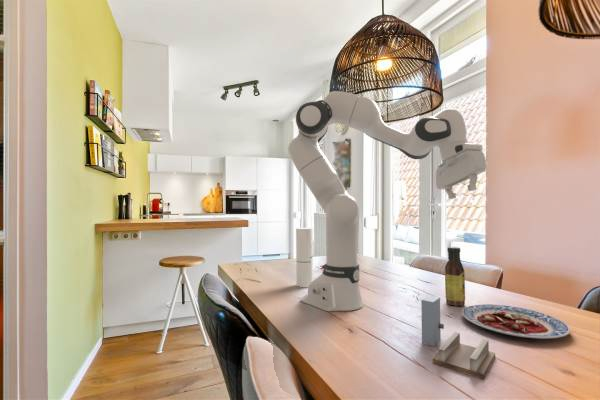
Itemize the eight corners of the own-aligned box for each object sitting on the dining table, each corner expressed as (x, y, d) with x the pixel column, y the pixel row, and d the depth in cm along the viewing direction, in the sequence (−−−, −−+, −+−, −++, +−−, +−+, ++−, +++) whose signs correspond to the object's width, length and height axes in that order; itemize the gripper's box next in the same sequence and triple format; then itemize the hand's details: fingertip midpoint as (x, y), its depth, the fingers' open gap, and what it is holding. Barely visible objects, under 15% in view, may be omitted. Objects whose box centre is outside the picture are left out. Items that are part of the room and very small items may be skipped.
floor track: (432, 362, 70) (432, 347, 70) (449, 344, 79) (448, 330, 79) (483, 379, 63) (483, 361, 63) (495, 357, 72) (494, 341, 72)
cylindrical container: (315, 284, 138) (315, 228, 138) (307, 288, 132) (307, 229, 132) (302, 282, 142) (301, 227, 142) (293, 286, 136) (292, 228, 136)
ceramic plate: (532, 354, 74) (532, 341, 74) (443, 318, 98) (443, 308, 98) (591, 335, 84) (591, 324, 84) (498, 306, 108) (497, 298, 108)
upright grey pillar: (421, 343, 80) (421, 299, 80) (428, 336, 84) (428, 295, 84) (438, 347, 77) (437, 302, 77) (444, 340, 81) (444, 298, 81)
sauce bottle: (467, 307, 107) (467, 249, 107) (448, 306, 108) (447, 248, 108) (462, 301, 113) (461, 246, 113) (443, 300, 114) (442, 246, 115)
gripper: (428, 166, 115) (434, 202, 111) (468, 141, 95) (475, 184, 92) (444, 166, 116) (449, 203, 112) (486, 142, 96) (494, 185, 93)
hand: (462, 194), depth 102 cm, fingers open, 8 cm apart
